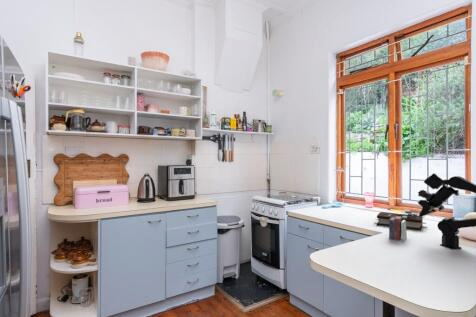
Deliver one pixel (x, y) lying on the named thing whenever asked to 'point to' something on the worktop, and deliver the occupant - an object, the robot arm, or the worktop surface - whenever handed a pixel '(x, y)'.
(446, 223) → the robot arm
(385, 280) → the worktop surface
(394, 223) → the book row
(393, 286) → the worktop surface
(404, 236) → the bookend
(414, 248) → the worktop surface
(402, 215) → the decorative book
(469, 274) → the worktop surface
